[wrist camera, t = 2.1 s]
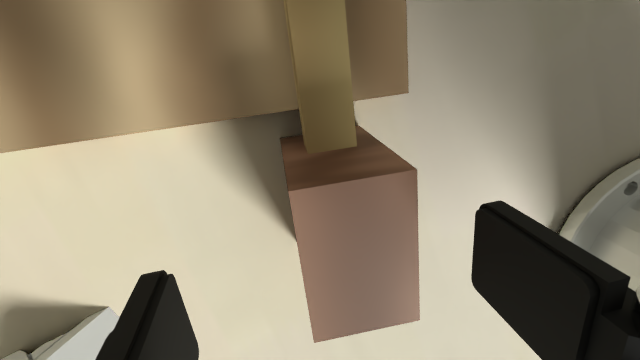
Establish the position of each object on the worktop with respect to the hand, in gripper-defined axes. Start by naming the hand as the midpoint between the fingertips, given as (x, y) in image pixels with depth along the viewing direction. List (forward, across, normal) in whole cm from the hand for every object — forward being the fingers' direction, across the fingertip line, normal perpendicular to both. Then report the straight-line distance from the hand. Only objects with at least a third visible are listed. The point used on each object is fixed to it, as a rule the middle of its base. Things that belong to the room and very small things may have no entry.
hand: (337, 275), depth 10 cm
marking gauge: (+8, -1, -4) cm, 9 cm away
